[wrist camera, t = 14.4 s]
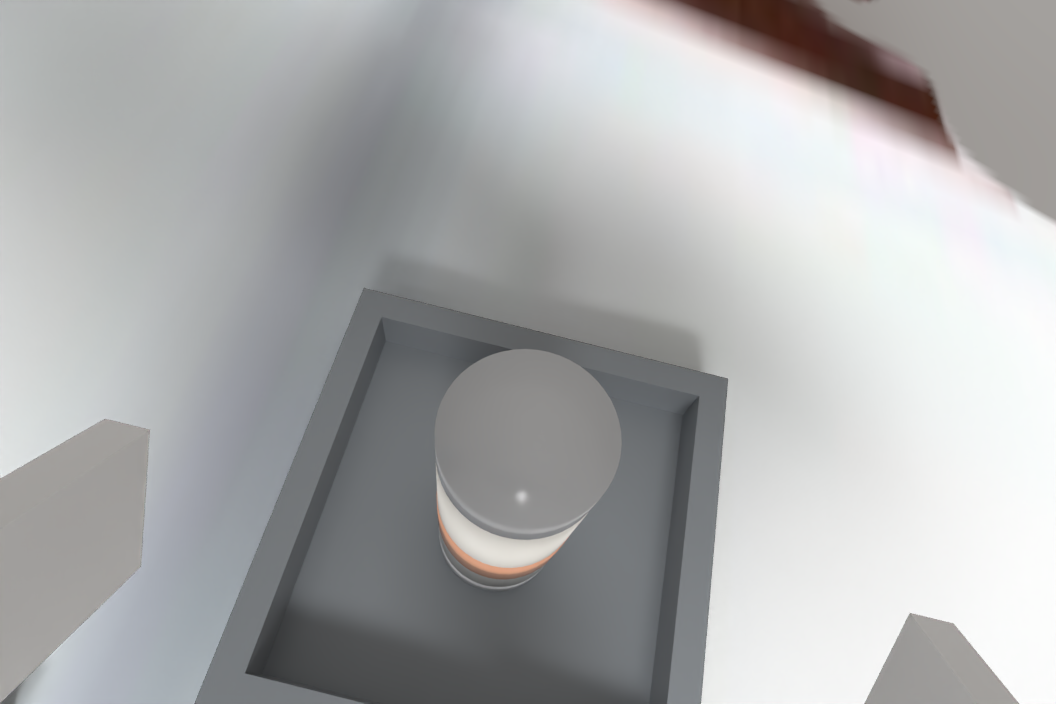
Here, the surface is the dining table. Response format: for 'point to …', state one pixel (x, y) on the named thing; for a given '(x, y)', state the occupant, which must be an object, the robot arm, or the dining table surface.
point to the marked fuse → (519, 463)
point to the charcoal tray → (421, 570)
